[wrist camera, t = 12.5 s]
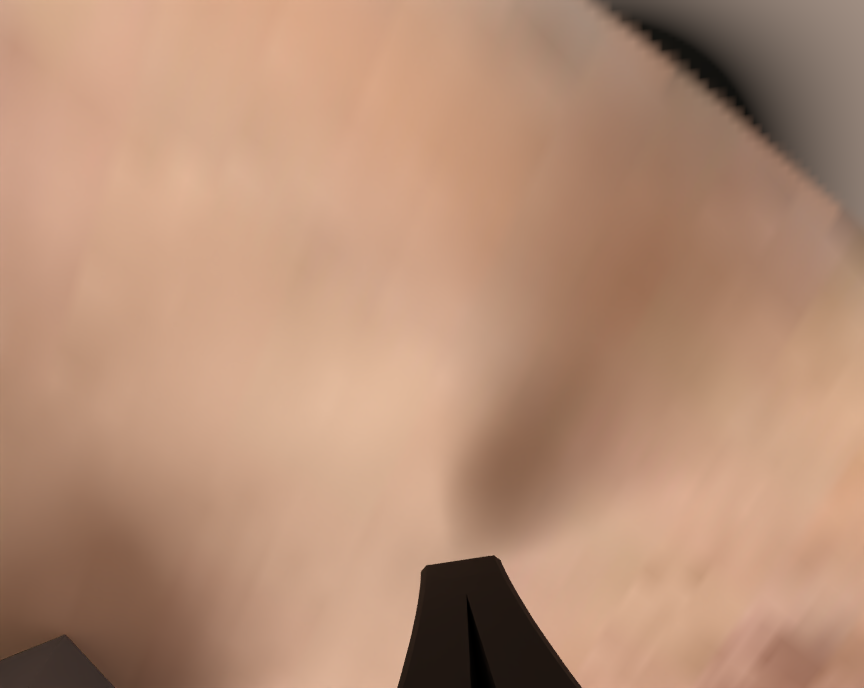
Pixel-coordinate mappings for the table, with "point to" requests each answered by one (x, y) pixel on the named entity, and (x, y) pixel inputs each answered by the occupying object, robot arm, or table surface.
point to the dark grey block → (51, 668)
